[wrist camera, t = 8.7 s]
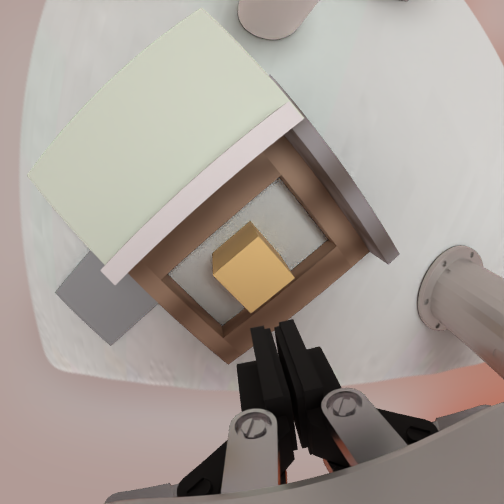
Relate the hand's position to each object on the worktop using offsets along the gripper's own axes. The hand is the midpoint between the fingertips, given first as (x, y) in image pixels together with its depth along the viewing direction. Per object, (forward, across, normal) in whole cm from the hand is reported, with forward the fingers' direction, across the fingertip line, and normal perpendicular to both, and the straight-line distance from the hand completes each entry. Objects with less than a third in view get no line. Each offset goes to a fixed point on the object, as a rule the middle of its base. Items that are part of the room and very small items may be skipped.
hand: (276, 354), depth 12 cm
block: (+21, 0, +3) cm, 21 cm away
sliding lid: (+14, +5, -10) cm, 18 cm away
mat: (+20, +16, +4) cm, 26 cm away
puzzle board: (+21, 0, 0) cm, 21 cm away
